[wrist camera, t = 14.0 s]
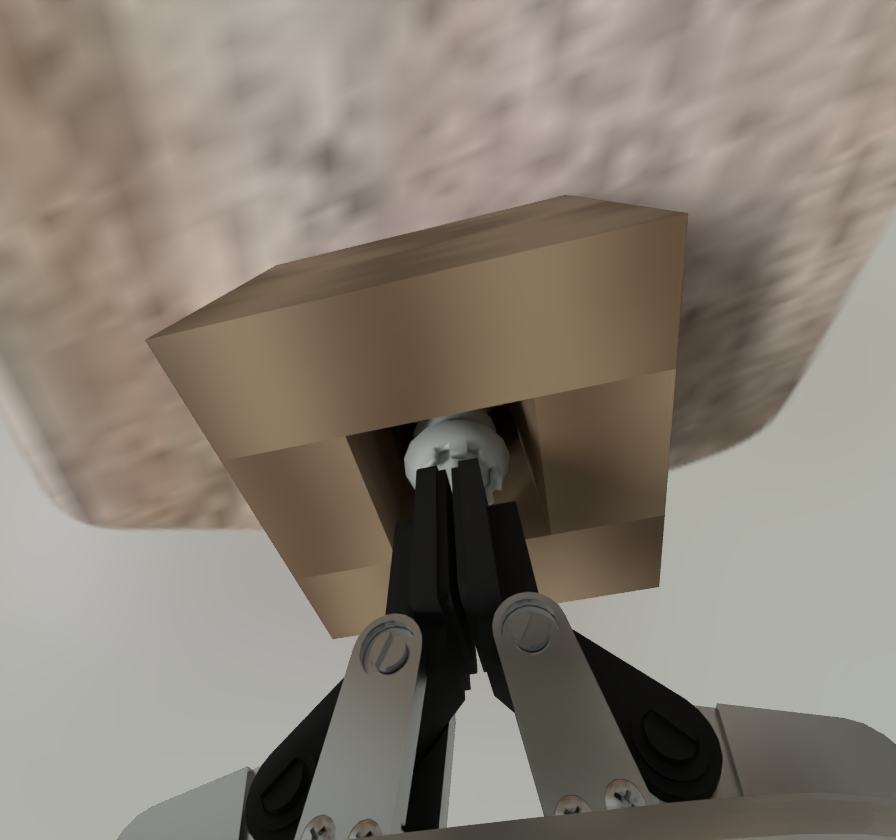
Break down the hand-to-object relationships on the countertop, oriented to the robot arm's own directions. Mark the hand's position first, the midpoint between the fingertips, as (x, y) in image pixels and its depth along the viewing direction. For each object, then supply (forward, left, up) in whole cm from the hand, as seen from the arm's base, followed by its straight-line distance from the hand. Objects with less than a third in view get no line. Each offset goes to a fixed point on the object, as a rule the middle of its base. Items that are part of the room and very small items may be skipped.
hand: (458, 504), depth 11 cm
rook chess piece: (0, 0, -9) cm, 9 cm away
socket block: (0, 0, -10) cm, 10 cm away
